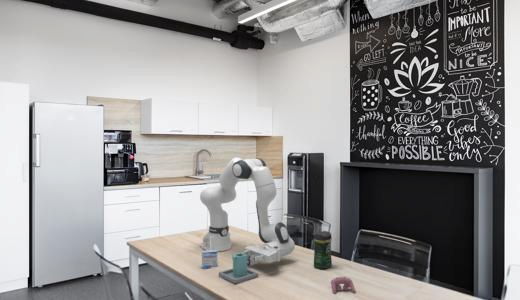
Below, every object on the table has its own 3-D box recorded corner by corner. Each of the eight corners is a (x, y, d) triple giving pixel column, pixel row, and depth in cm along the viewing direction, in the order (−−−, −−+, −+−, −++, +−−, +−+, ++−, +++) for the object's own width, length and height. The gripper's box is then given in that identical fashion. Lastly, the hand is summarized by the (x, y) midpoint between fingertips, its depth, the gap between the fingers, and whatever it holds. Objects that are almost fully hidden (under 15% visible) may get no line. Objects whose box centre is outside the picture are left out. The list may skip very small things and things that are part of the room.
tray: (218, 276, 178) (218, 272, 178) (241, 269, 186) (241, 266, 186) (235, 284, 167) (235, 280, 167) (258, 277, 176) (258, 273, 176)
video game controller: (353, 293, 159) (350, 276, 162) (356, 292, 155) (353, 275, 158) (331, 294, 158) (329, 277, 161) (333, 293, 154) (331, 276, 157)
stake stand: (235, 263, 197) (235, 253, 197) (249, 259, 204) (249, 250, 204) (246, 267, 190) (246, 258, 190) (261, 263, 196) (260, 254, 196)
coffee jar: (324, 271, 183) (323, 234, 183) (311, 267, 189) (310, 232, 188) (334, 266, 190) (334, 231, 190) (321, 263, 196) (321, 229, 195)
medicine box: (202, 269, 188) (202, 252, 188) (201, 266, 193) (201, 250, 193) (217, 267, 191) (217, 251, 190) (216, 264, 195) (216, 249, 195)
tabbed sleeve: (230, 275, 177) (230, 255, 177) (241, 272, 181) (240, 252, 181) (236, 278, 173) (236, 257, 173) (247, 275, 177) (246, 255, 177)
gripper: (257, 241, 197) (236, 246, 189) (282, 249, 181) (261, 254, 173) (257, 252, 197) (236, 258, 189) (282, 261, 182) (261, 267, 173)
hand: (248, 256), depth 181 cm, fingers open, 8 cm apart
